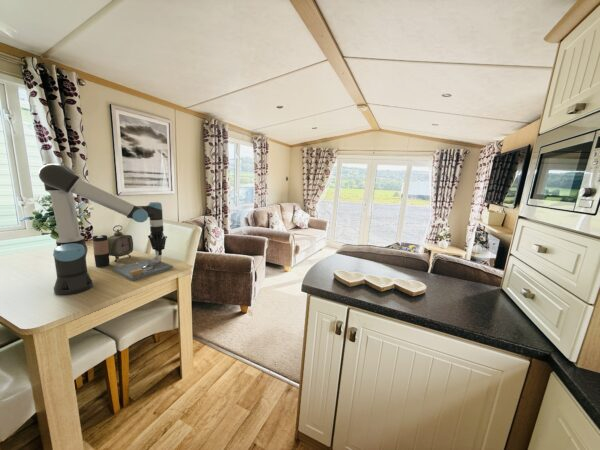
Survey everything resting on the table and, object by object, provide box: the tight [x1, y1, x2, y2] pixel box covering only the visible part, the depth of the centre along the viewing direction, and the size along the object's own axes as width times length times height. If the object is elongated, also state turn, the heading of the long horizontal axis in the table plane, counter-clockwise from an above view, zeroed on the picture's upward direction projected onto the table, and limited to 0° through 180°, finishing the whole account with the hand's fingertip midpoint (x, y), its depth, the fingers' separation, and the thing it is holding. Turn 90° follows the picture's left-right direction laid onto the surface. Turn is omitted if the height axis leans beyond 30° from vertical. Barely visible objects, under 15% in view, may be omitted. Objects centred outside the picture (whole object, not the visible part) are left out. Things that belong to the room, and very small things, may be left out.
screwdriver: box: [129, 267, 153, 276], centre depth 146 cm, size 12×3×3 cm, turn 149°
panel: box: [112, 259, 174, 282], centre depth 156 cm, size 25×24×2 cm
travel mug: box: [92, 234, 111, 268], centre depth 157 cm, size 8×8×20 cm
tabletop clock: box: [107, 224, 134, 263], centre depth 169 cm, size 14×9×25 cm, turn 168°
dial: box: [142, 254, 162, 269], centre depth 157 cm, size 15×6×5 cm, turn 174°
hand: (159, 259), depth 162 cm, fingers closed
